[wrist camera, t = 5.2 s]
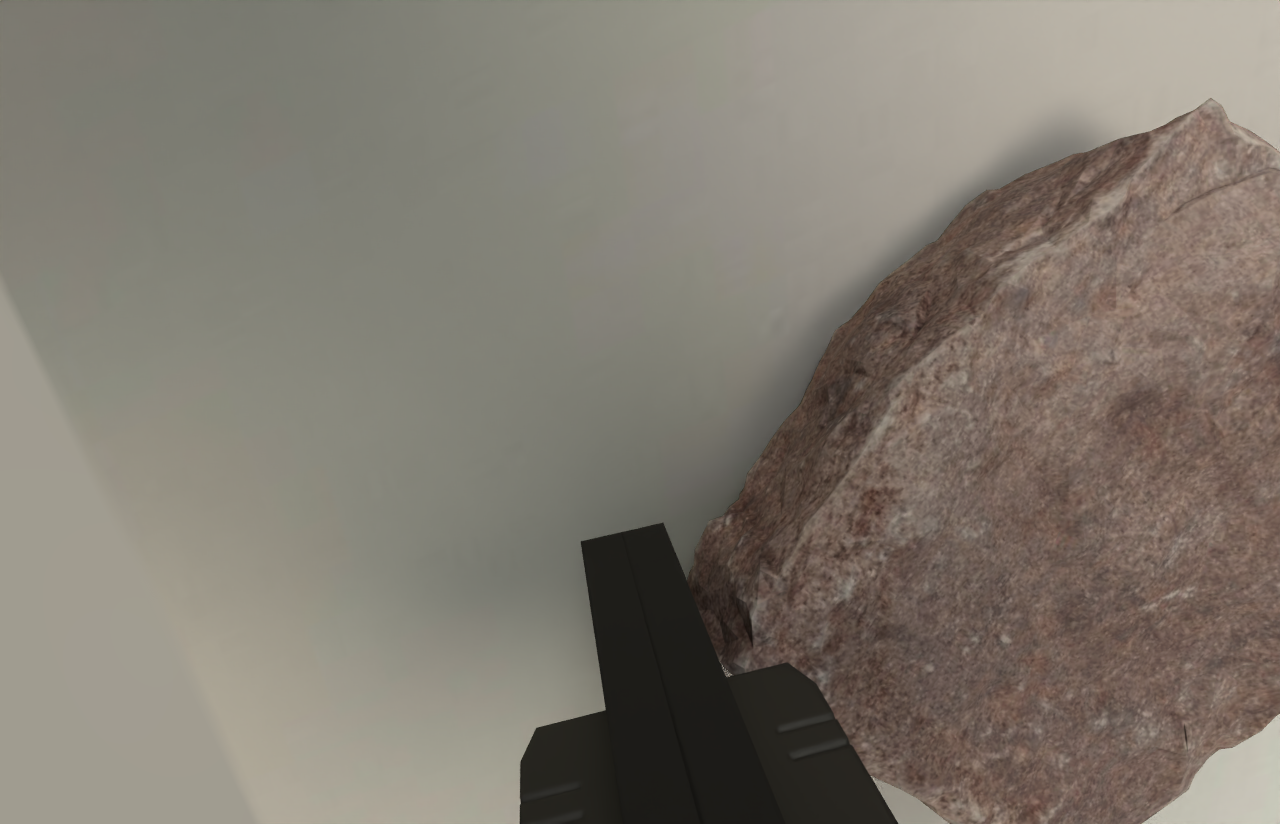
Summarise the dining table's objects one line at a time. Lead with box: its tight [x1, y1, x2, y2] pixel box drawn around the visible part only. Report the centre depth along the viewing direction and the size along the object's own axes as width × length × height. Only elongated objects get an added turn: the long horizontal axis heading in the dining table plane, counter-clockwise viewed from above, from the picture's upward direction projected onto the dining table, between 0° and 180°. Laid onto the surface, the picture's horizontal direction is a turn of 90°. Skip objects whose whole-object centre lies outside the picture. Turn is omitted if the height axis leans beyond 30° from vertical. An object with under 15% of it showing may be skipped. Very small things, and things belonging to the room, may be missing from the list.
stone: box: [687, 98, 1280, 824], centre depth 12 cm, size 12×9×5 cm
